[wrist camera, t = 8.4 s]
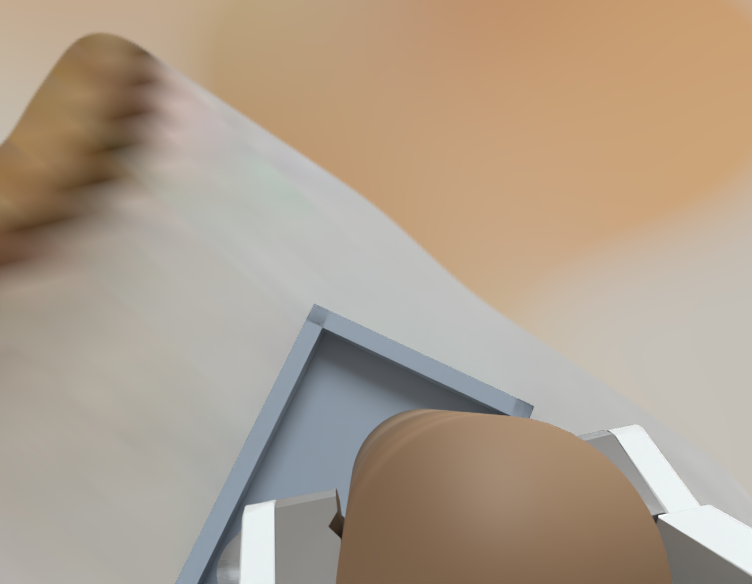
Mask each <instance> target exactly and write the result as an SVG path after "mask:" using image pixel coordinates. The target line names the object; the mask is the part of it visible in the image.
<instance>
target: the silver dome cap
mask: <svg viewBox="0 0 752 584" xmlns="http://www.w3.org/2000/svg"><path fill="white" fill-rule="evenodd" d="M240 549H241V531H240V532H239V533H238V534H237V535H236V536H235V537H234V538H233V539H232V540H231V541H230V542H229V543H228V545H227V546H226V547H225V549H224V550H223V552H222V554H221V556H220V559H219V562H218V567H217V582H218V584H239V569H240Z"/></svg>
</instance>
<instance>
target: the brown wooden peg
mask: <svg viewBox="0 0 752 584" xmlns="http://www.w3.org/2000/svg"><path fill="white" fill-rule="evenodd" d="M336 584H672V579H671V572H670V568H669V563H668V559H667V554H666V550H665V547H664V544H663V541H662V539H661V536H660V533H659V530H658V528H657V526H656V523H655V521H654V519H653V517H652V515H651V513H650V511H649V509H648V507H647V506H646V504H645V503H644V501H643V499H642V498H641V496H640V495H639V493H638V492H637V490H636V489H635V487H634V486H633V485H632V484H631V482H630V481H629V480H628V479H627V478H626V476H625V475H624V474H623V473H622V472H621V470H620V469H618V468H617V467H616V466H615V465H614V464H613V463H612V462H611V461H610V460H609V459H608V458H607V457H606V456H605V455H604V454H602V453H601V452H599V451H598V450H597V449H595V448H594V447H593V446H591V445H590V444H589V443H587V442H586V441H584V440H582V439H580V438H579V437H577V436H575V435H573V434H571V433H570V432H568V431H565V430H563V429H560V428H558V427H555V426H553V425H551V424H548V423H544V422H540V421H536V420H533V419H529V418H522V417H514V416H505V415H494V414H482V413H470V412H459V411H447V410H435V409H414V410H408V411H404V412H401V413H398V414H396V415H394V416H391V417H390V418H388V419H386V420H385V421H383V422H382V423H381V424H379V425H378V426H377V427H376V428H375V429H374V430H373V431H372V432H371V433H370V434H369V435H368V436H367V438H366V439H365V441H364V442H363V444H362V445H361V447H360V449H359V451H358V453H357V456H356V458H355V462H354V466H353V469H352V476H351V482H350V489H349V495H348V501H347V508H346V514H345V521H344V527H343V534H342V540H341V546H340V553H339V560H338V568H337V576H336Z"/></svg>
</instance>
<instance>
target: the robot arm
mask: <svg viewBox="0 0 752 584" xmlns="http://www.w3.org/2000/svg"><path fill="white" fill-rule="evenodd" d="M577 437H579V438H580V439H582V440H584V441H586V442H587V443H589V444H590V445H591V446H593V447H594V448H595V449H597V450H598V451H599V452H601V453H602V454H604V455H605V456H606V457H607V458H608V459H609V460H610V461H611V462H612V463H613V464H614V465H615V466H616V467H617V468H618V469H620V470H621V472H622V473H623V474H624V475H625V476H626V478H627V479H628V480H629V481H630V482H631V484H632V485H633V486H634V487H635V489H636V490H637V492H638V493H639V495H640V496H641V498H642V499H643V501H644V503H645V504H646V506H647V507H648V509H649V511H650V513H651V515H652V517H653V519H654V521H655V523H656V526H657V528H658V530H659V533H660V536H661V539H662V541H663V544H664V547H665V550H666V554H667V559H668V563H669V568H670V572H671V579H672V584H752V528H750V527H749V526H747V525H745V524H743V523H742V522H740V521H738V520H736V519H735V518H733V517H731V516H729V515H727V514H726V513H724V512H722V511H720V510H719V509H717V508H715V507H713V506H712V505H704V506H700V504H699V503H698V502H697V500H696V499H695V498H694V496H693V495H692V494H691V492H690V491H689V490H688V488H687V487H686V486H685V484H684V483H683V482H682V480H681V479H680V478H679V476H678V475H677V473H676V472H675V471H674V469H673V468H672V467H671V465H670V464H669V463H668V461H667V460H666V459H665V457H664V456H663V455H662V453H661V452H660V451H659V449H658V448H657V447H656V445H655V444H654V443H653V441H652V440H651V438H650V437H649V436H648V434H647V433H646V432H645V430H644V429H643V428H641V427H640V426H638V425H637V424H636V425H629V426H625V427H620V428H616V429H611V430H607V431H605V430H602V431H598V432H594V433H589V434H585V435H580V436H577ZM344 521H345V518H344V516H342V512H341V505H340V499H339V495H338V492H337V489H331V490H326V491H320V492H315V493H309V494H304V495H299V496H293V497H288V498H283V499H277V500H272V501H267V502H262V503H257V504H252V505H247V506H245V509H244V512H243V515H242V530H241V549H240V569H239V584H336V576H337V568H338V560H339V553H340V546H341V540H342V534H343V527H344Z"/></svg>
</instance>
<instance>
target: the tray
mask: <svg viewBox="0 0 752 584" xmlns="http://www.w3.org/2000/svg"><path fill="white" fill-rule="evenodd" d="M533 408H534V406H533V405H530V404H528V403H526V402H524V401H522V400H520V399H518V398H515V397H513V396H511V395H509V394H507V393H505V392H503V391H500V390H498V389H496V388H494V387H492V386H490V385H488V384H485V383H483V382H481V381H479V380H477V379H475V378H473V377H470V376H468V375H466V374H464V373H462V372H460V371H458V370H455V369H453V368H451V367H449V366H447V365H445V364H443V363H440V362H438V361H436V360H434V359H432V358H430V357H428V356H425V355H423V354H421V353H419V352H417V351H415V350H413V349H410V348H408V347H406V346H404V345H402V344H400V343H398V342H395V341H393V340H391V339H389V338H387V337H385V336H383V335H380V334H378V333H376V332H374V331H372V330H370V329H368V328H365V327H363V326H361V325H359V324H357V323H355V322H353V321H350V320H348V319H346V318H344V317H342V316H340V315H338V314H335V313H333V312H331V311H329V310H327V309H325V308H323V307H320V306H318V305H316V304H314V305H313V307H312V309H311V311H310V313H309V315H308V317H307V319H306V321H305V323H304V325H303V327H302V329H301V331H300V333H299V335H298V337H297V339H296V341H295V343H294V345H293V347H292V349H291V351H290V353H289V355H288V357H287V359H286V362H285V364H284V366H283V368H282V370H281V372H280V374H279V376H278V378H277V380H276V382H275V384H274V386H273V388H272V390H271V392H270V394H269V396H268V398H267V400H266V402H265V404H264V406H263V408H262V410H261V412H260V414H259V416H258V418H257V420H256V422H255V424H254V426H253V428H252V430H251V432H250V434H249V436H248V438H247V440H246V442H245V444H244V446H243V448H242V450H241V452H240V454H239V456H238V458H237V460H236V462H235V464H234V466H233V468H232V470H231V472H230V474H229V476H228V478H227V480H226V482H225V484H224V486H223V488H222V490H221V492H220V494H219V496H218V498H217V500H216V502H215V505H214V507H213V509H212V511H211V513H210V515H209V517H208V519H207V521H206V523H205V525H204V527H203V529H202V531H201V533H200V535H199V537H198V539H197V541H196V543H195V545H194V547H193V549H192V551H191V553H190V555H189V557H188V559H187V561H186V563H185V565H184V567H183V569H182V571H181V573H180V575H179V577H178V579H177V581H176V583H175V584H218V582H217V567H218V562H219V559H220V556H221V554H222V552H223V550H224V549H225V547H226V546H227V545H228V543H229V542H230V541H231V540H232V539H233V538H234V537H235V536H236V535H237V534H238V533H239V532H240V531H241V530H242V515H243V512H244V509H245V506H247V505H252V504H257V503H262V502H267V501H272V500H277V499H283V498H288V497H293V496H299V495H304V494H309V493H315V492H320V491H326V490H331V489H337V492H338V495H339V499H340V505H341V512H342V516H344V518H345V514H346V508H347V501H348V495H349V489H350V482H351V476H352V469H353V466H354V462H355V458H356V456H357V453H358V451H359V449H360V447H361V445H362V444H363V442H364V441H365V439H366V438H367V436H368V435H369V434H370V433H371V432H372V431H373V430H374V429H375V428H376V427H377V426H378V425H379V424H381V423H382V422H383V421H385V420H386V419H388V418H390V417H391V416H394V415H396V414H398V413H401V412H404V411H408V410H414V409H435V410H447V411H459V412H470V413H482V414H494V415H505V416H514V417H522V418H530V416H531V413H532V411H533Z"/></svg>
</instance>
